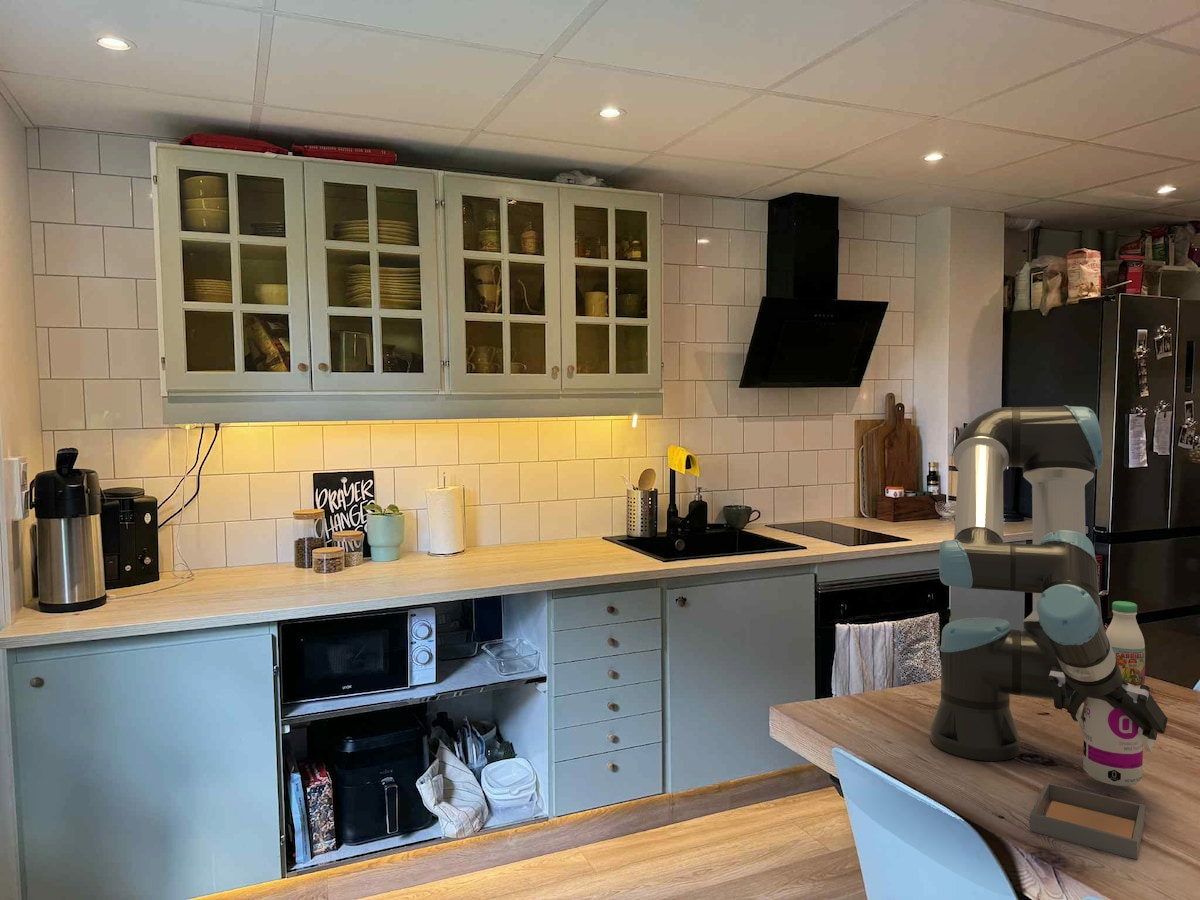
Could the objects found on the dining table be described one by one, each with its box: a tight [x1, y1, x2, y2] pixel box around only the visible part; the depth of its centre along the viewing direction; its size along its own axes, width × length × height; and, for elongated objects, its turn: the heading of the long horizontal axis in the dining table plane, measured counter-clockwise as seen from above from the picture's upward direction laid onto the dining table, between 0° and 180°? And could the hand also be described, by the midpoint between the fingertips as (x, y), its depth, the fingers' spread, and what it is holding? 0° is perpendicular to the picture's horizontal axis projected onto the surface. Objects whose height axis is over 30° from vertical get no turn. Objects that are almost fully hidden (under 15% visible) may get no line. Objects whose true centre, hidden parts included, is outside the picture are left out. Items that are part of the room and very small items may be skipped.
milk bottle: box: [1105, 600, 1146, 688], centre depth 178 cm, size 8×8×20 cm
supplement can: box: [1082, 683, 1144, 787], centre depth 132 cm, size 8×8×15 cm
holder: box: [1029, 781, 1146, 860], centre depth 121 cm, size 13×13×2 cm
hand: (1118, 736), depth 135 cm, fingers closed on supplement can, 8 cm apart
